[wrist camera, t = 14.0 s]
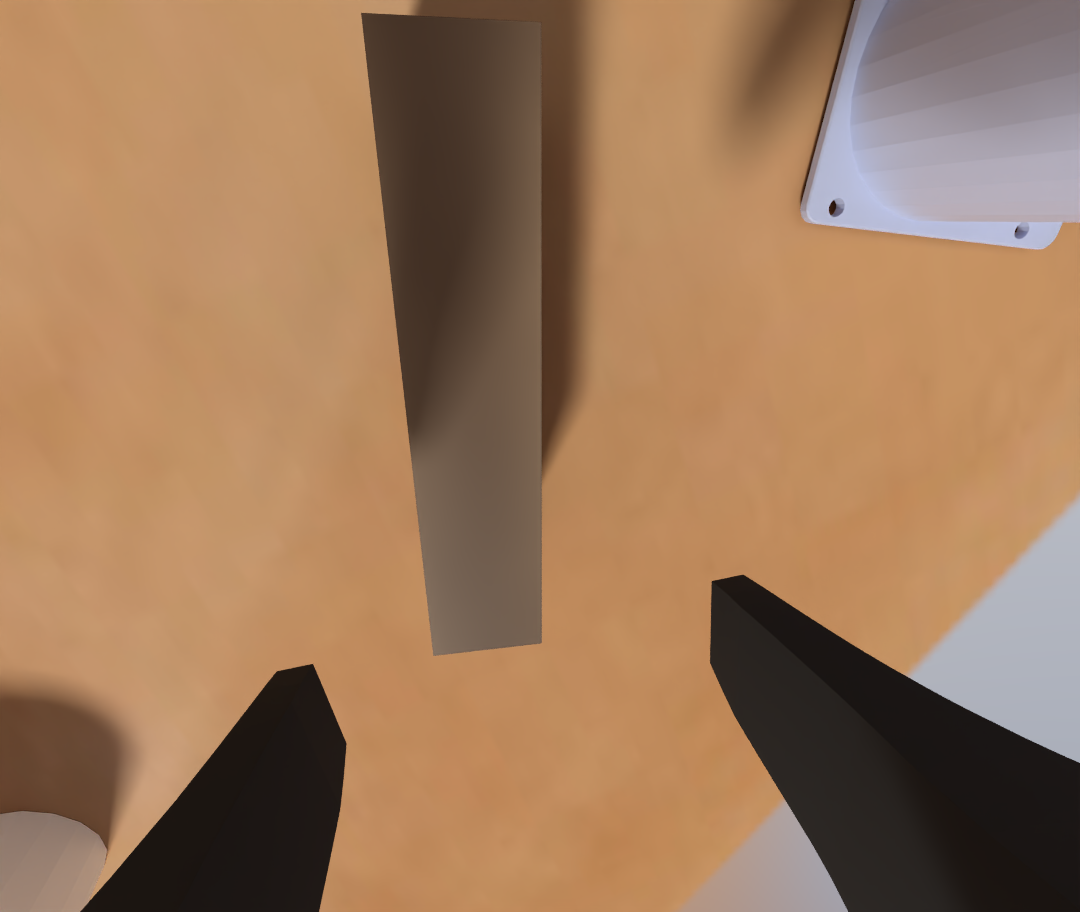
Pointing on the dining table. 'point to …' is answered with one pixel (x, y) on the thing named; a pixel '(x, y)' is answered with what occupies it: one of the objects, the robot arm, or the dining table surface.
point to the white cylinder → (47, 862)
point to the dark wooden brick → (467, 308)
